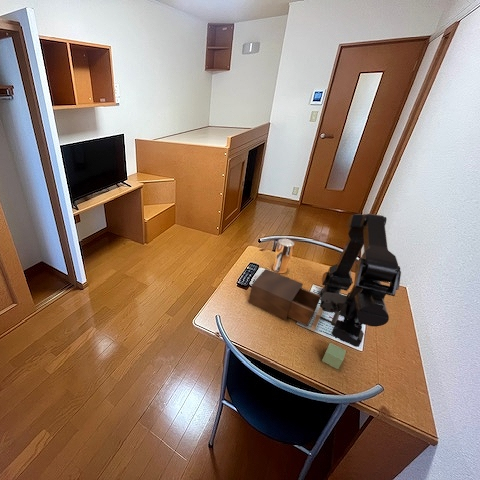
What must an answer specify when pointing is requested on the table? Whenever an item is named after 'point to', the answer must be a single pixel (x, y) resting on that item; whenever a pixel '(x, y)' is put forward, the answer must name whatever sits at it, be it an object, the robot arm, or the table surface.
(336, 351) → the block
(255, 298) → the cabinet
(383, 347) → the table surface
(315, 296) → the drawer
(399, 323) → the table surface
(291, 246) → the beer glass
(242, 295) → the table surface
